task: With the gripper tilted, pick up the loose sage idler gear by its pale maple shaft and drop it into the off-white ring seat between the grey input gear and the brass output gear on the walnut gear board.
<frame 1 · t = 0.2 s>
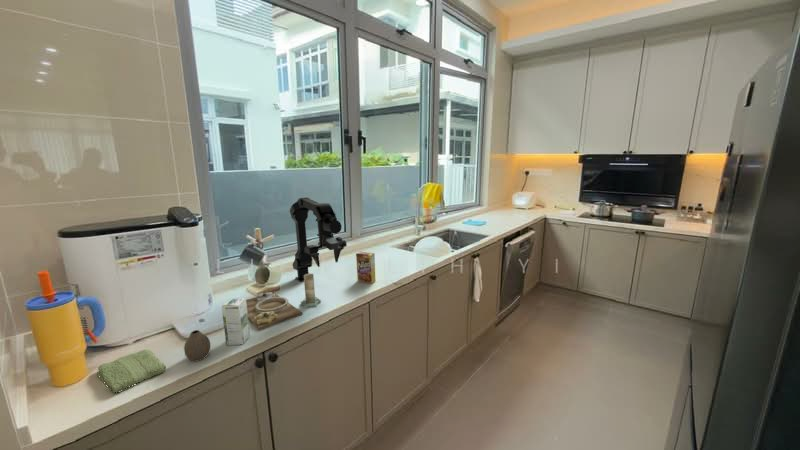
hand: (327, 264, 141), 14 cm above the countertop, tool pointing down, fingers open, 9 cm apart
syrup box: (238, 341, 106), on the countertop
gear board: (270, 307, 131), on the countertop
washcloth: (132, 373, 91), on the countertop
vase: (199, 357, 97), on the countertop
idler gear: (310, 303, 134), on the countertop
candy box: (366, 281, 159), on the countertop
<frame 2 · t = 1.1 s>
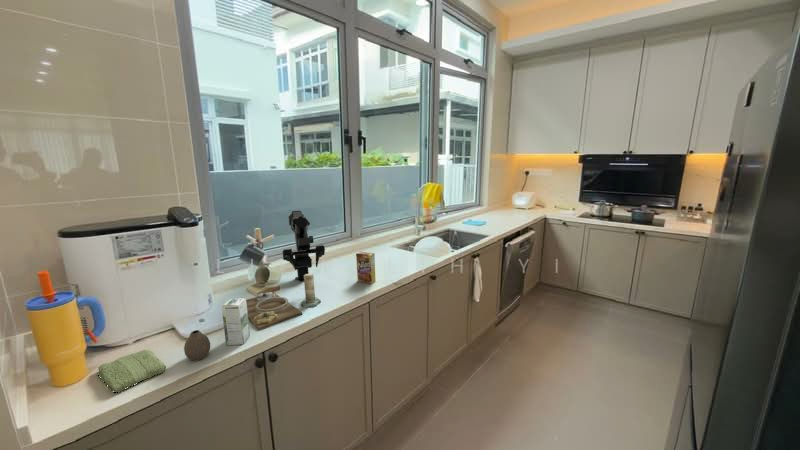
hand: (306, 268, 139), 13 cm above the countertop, tool tilted 45°, fingers open, 9 cm apart
nothing on the countertop moved.
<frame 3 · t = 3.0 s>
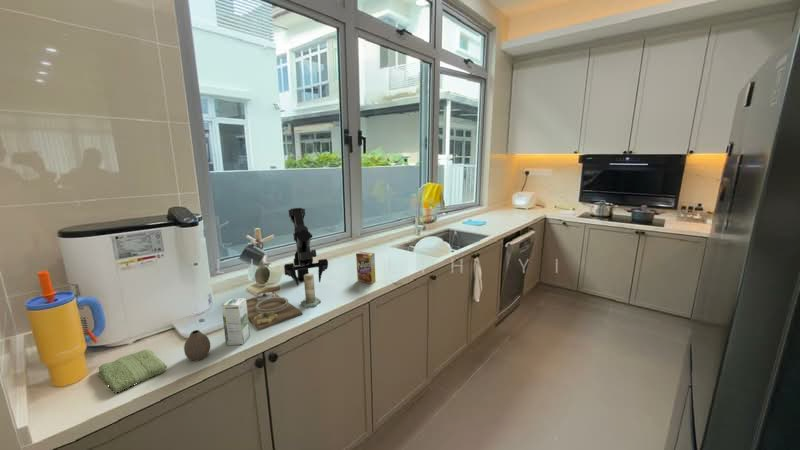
hand: (309, 283, 134), 9 cm above the countertop, tool tilted 45°, fingers open, 9 cm apart
nothing on the countertop moved.
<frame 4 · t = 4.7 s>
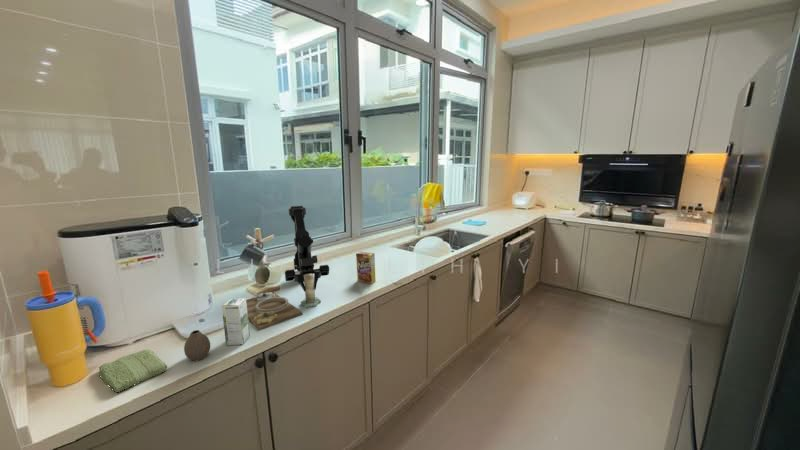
hand: (310, 290, 132), 7 cm above the countertop, tool tilted 45°, fingers closed on idler gear, 4 cm apart
idler gear: (310, 303, 134), on the countertop, touching gripper
everything else where it was.
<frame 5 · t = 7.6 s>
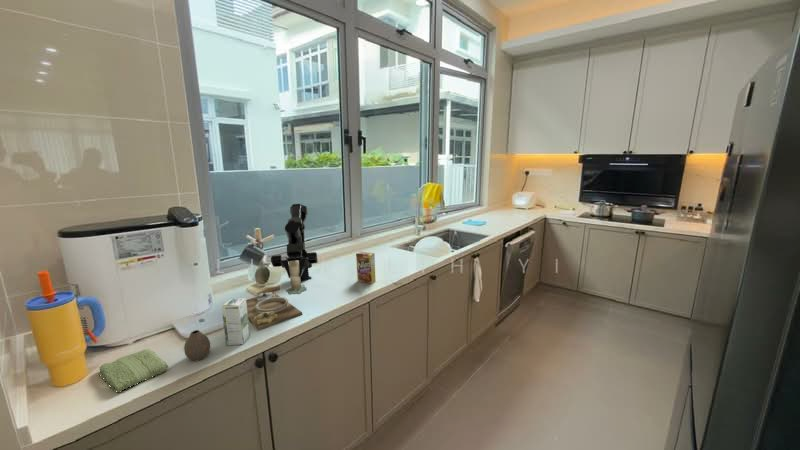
hand: (294, 277, 128), 14 cm above the countertop, tool tilted 45°, fingers closed on idler gear, 4 cm apart
idler gear: (296, 290, 131), point 7 cm above the countertop, touching gripper
everything else where it was.
when the fingers open (8 cm above the countertop, at t = 10.6 s): idler gear stays where it is, resting on gear board.
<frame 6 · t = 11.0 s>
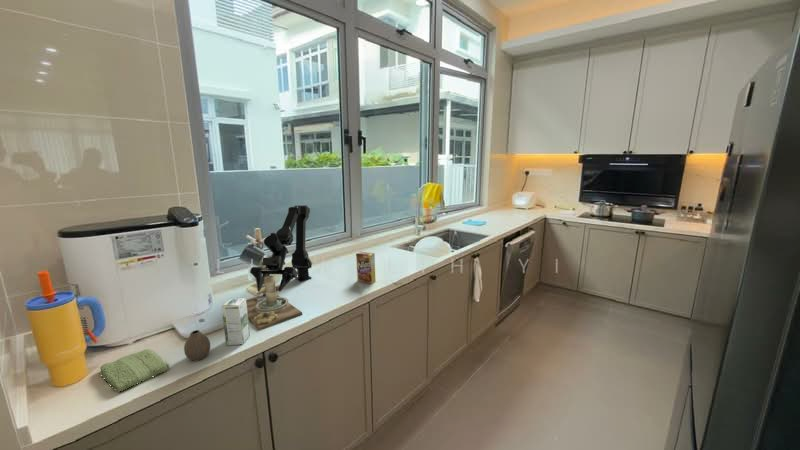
hand: (268, 291, 127), 9 cm above the countertop, tool tilted 45°, fingers open, 9 cm apart
idler gear: (272, 306, 130), point 1 cm above the countertop, touching gear board
everything else where it was.
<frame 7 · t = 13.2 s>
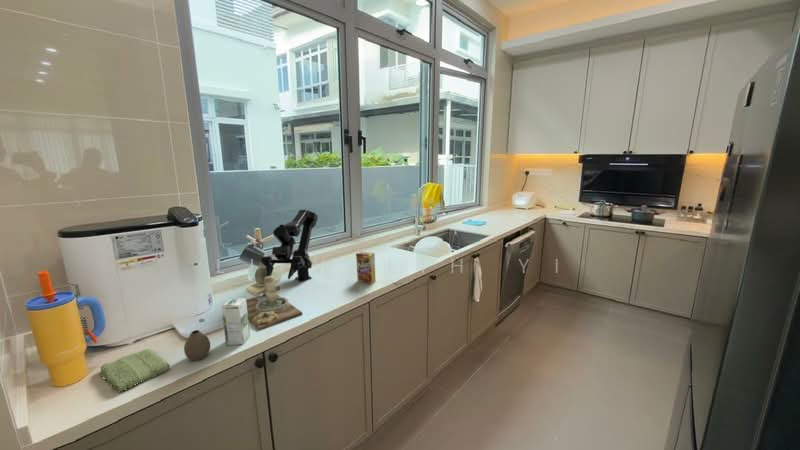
hand: (278, 278, 136), 10 cm above the countertop, tool tilted 45°, fingers open, 9 cm apart
nothing on the countertop moved.
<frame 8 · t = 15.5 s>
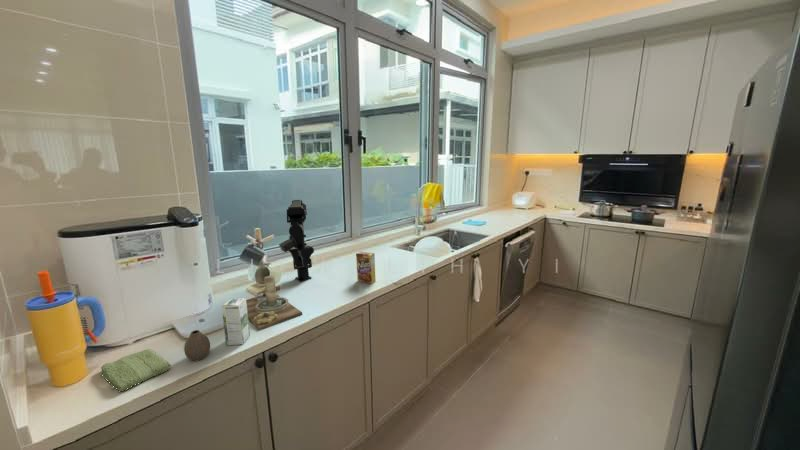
hand: (300, 265, 146), 13 cm above the countertop, tool pointing down, fingers open, 9 cm apart
nothing on the countertop moved.
at the end: idler gear 0.0 cm from the target spot on the gear board, point 1.0 cm above the gear board's base; idler gear tilted 0°; the gripper is holding nothing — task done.
